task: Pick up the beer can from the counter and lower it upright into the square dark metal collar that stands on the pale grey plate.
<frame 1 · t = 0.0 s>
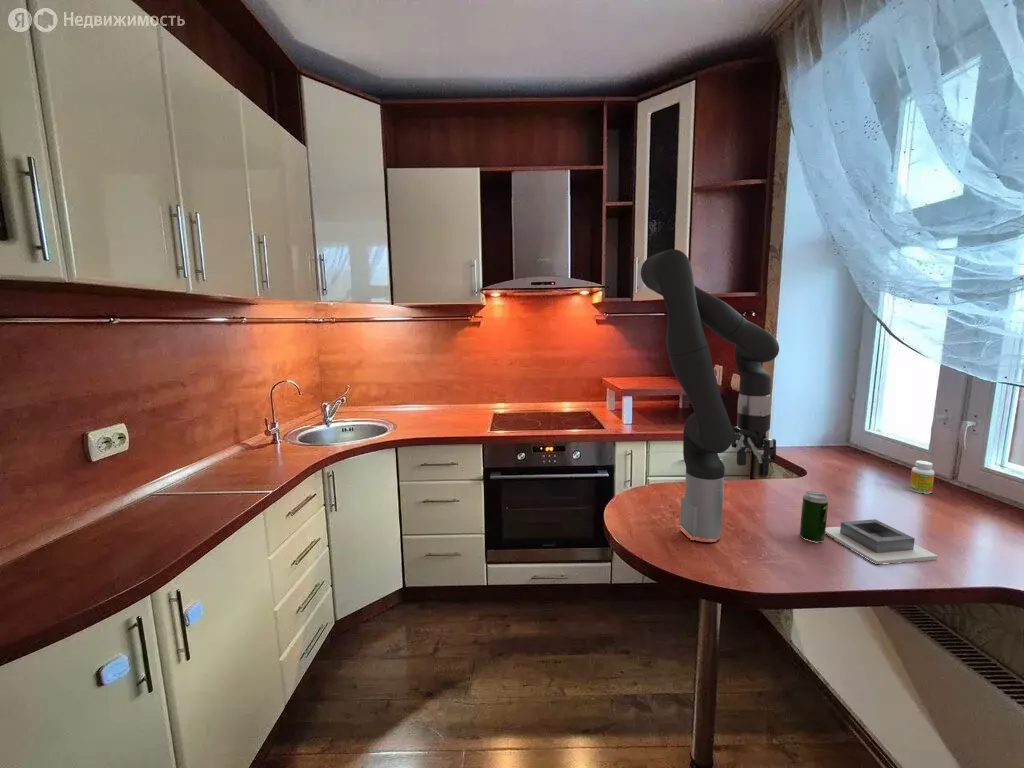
hand: (751, 470, 114), 17 cm above the countertop, tool pointing down, fingers open, 8 cm apart
beer can: (811, 539, 112), on the countertop
supplement bottle: (920, 491, 140), on the countertop
can collar: (875, 535, 108), on the holder plate, point 2 cm above the countertop
holder plate: (874, 544, 108), on the countertop
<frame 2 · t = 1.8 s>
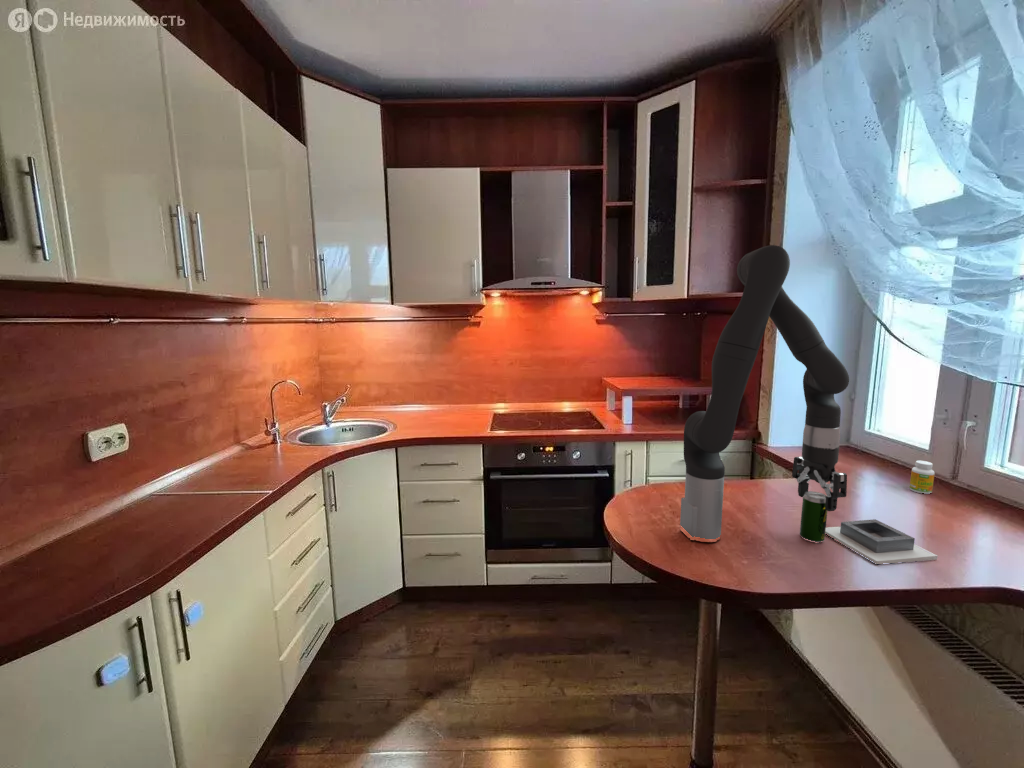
hand: (816, 503, 110), 10 cm above the countertop, tool pointing down, fingers open, 8 cm apart
nothing on the countertop moved.
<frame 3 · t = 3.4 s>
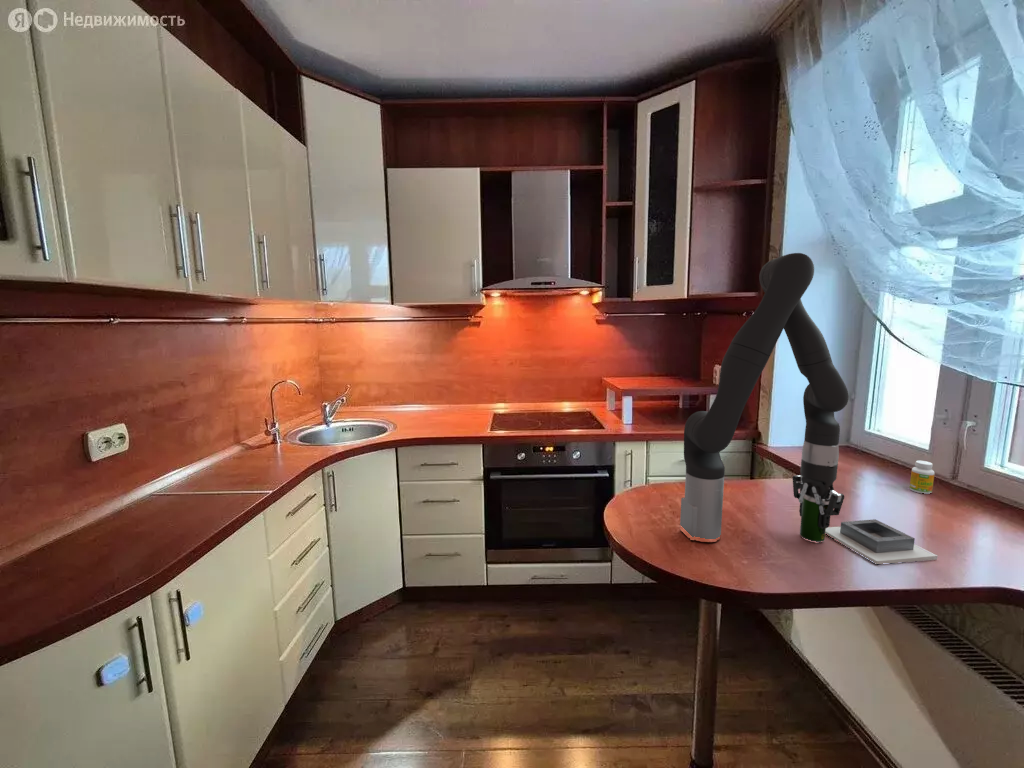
hand: (813, 521, 111), 5 cm above the countertop, tool pointing down, fingers closed on beer can, 5 cm apart
beer can: (811, 539, 112), on the countertop, touching gripper
everything else where it was.
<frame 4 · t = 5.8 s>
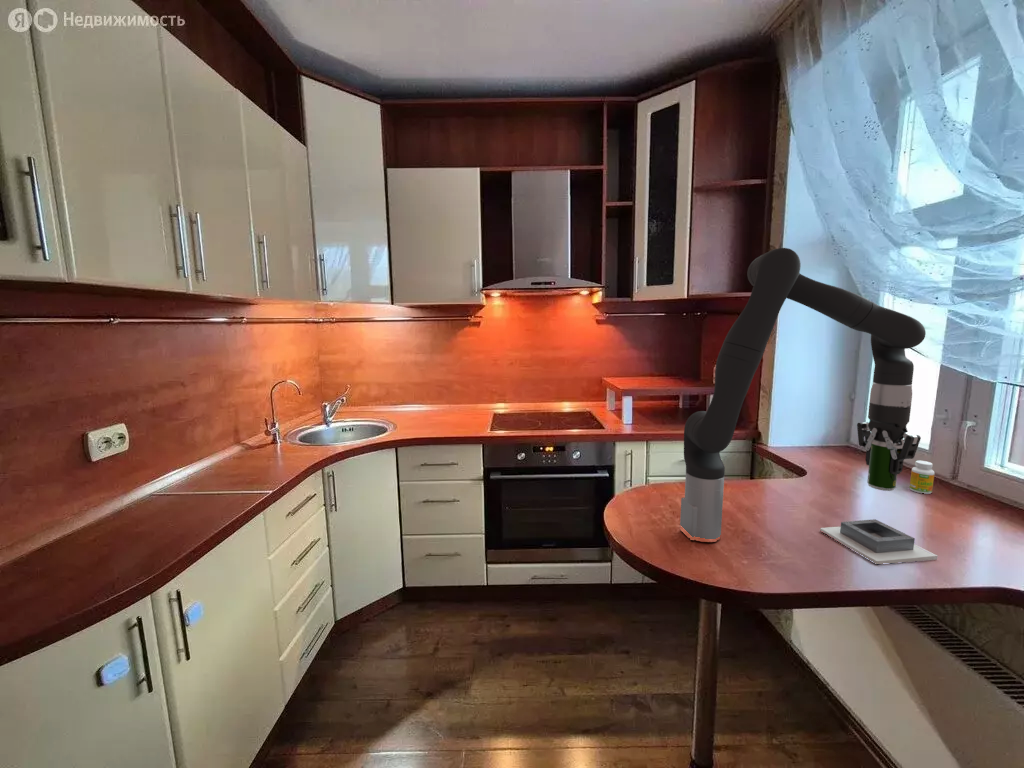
hand: (882, 469, 105), 20 cm above the countertop, tool pointing down, fingers closed on beer can, 5 cm apart
beer can: (880, 487, 106), point 15 cm above the countertop, touching gripper
everything else where it was.
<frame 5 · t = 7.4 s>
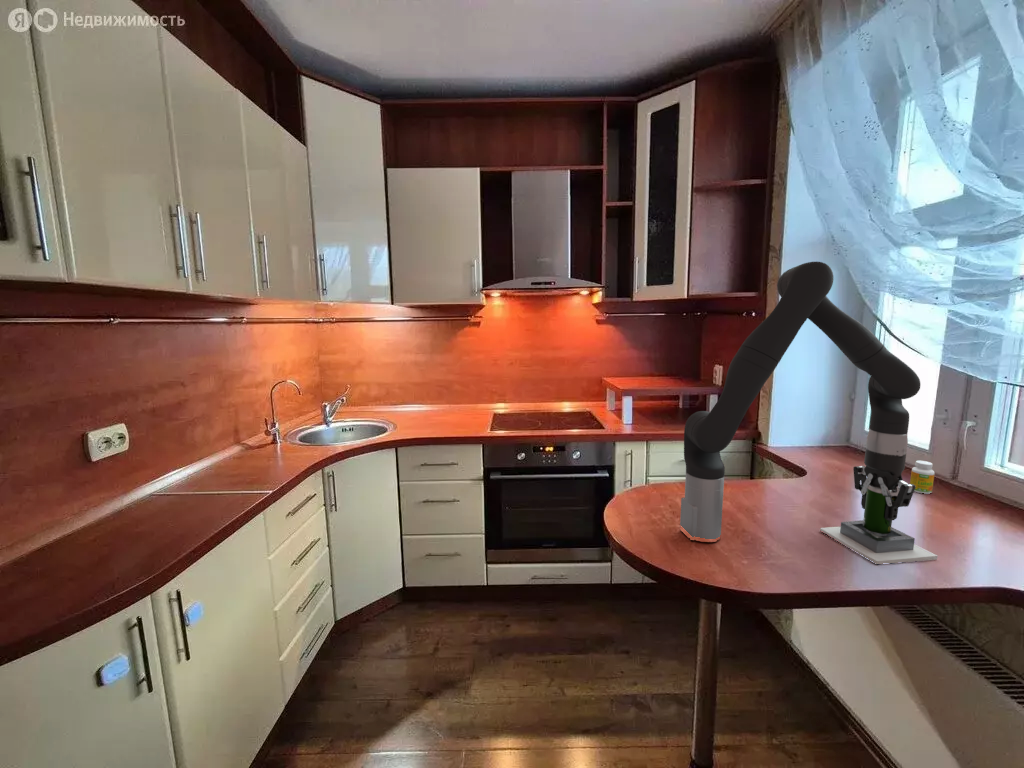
hand: (878, 513, 107), 8 cm above the countertop, tool pointing down, fingers closed on beer can, 5 cm apart
beer can: (876, 532, 108), point 3 cm above the countertop, touching gripper
everything else where it was.
when the fingers open (7 cm above the countertop, at t = 8.5 s): beer can drops 1 cm, resting on holder plate.
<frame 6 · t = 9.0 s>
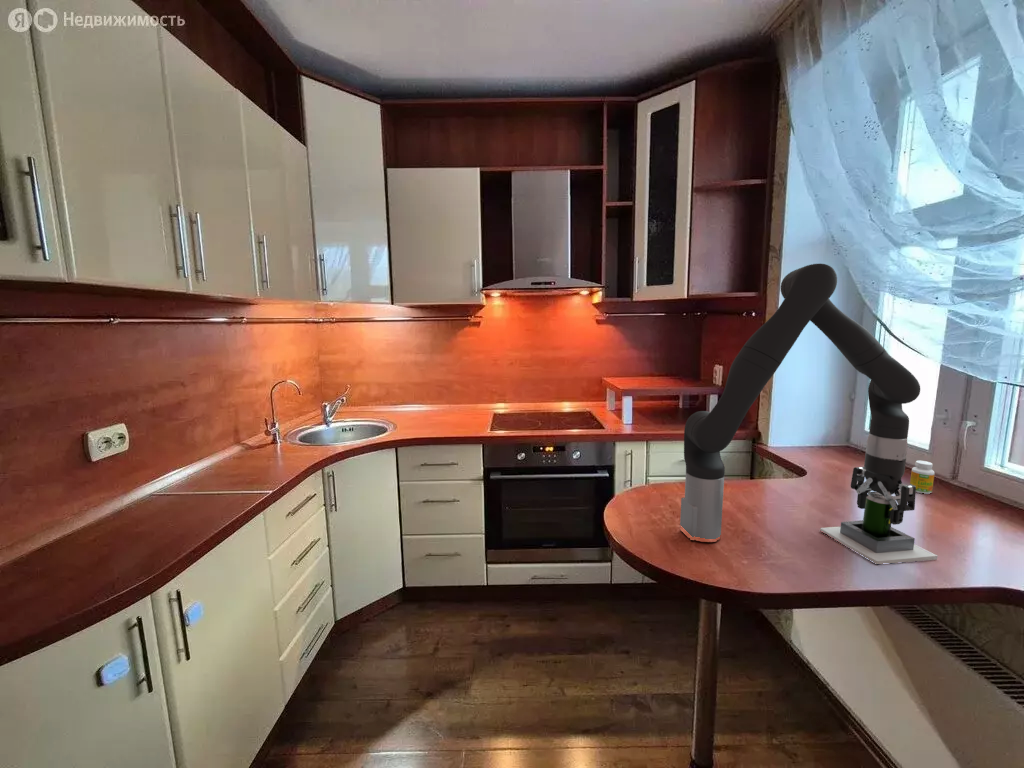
hand: (878, 515, 107), 8 cm above the countertop, tool pointing down, fingers open, 8 cm apart
beer can: (874, 541, 108), point 1 cm above the countertop, touching holder plate
everything else where it was.
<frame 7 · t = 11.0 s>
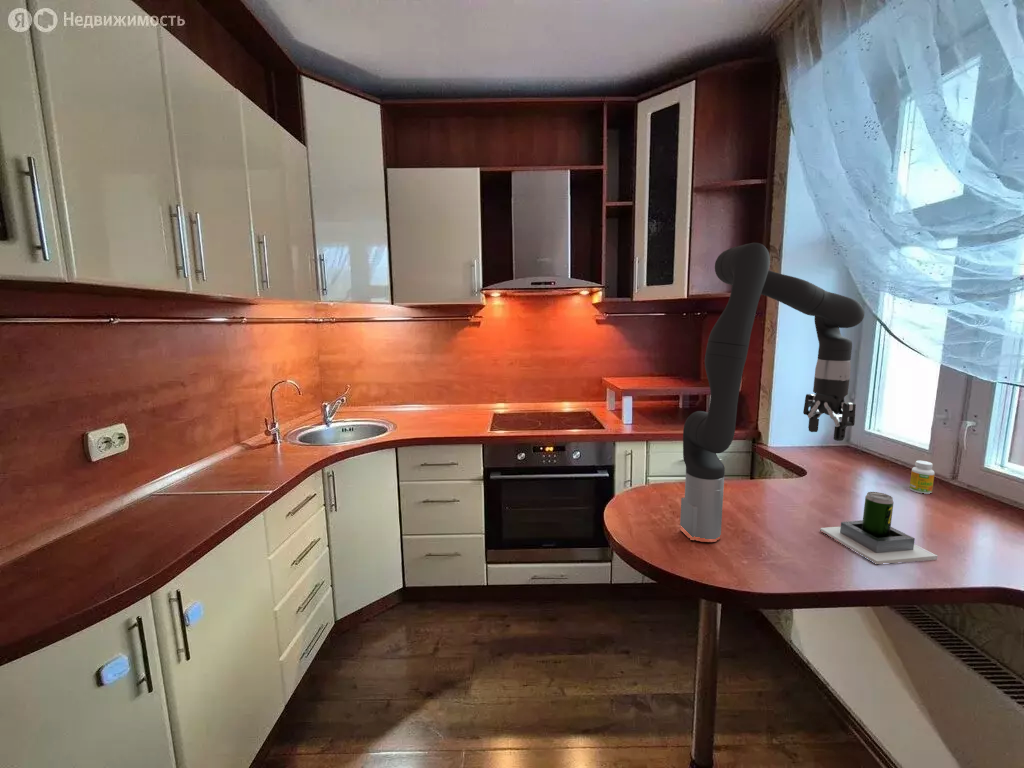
hand: (825, 435, 116), 25 cm above the countertop, tool pointing down, fingers open, 8 cm apart
nothing on the countertop moved.
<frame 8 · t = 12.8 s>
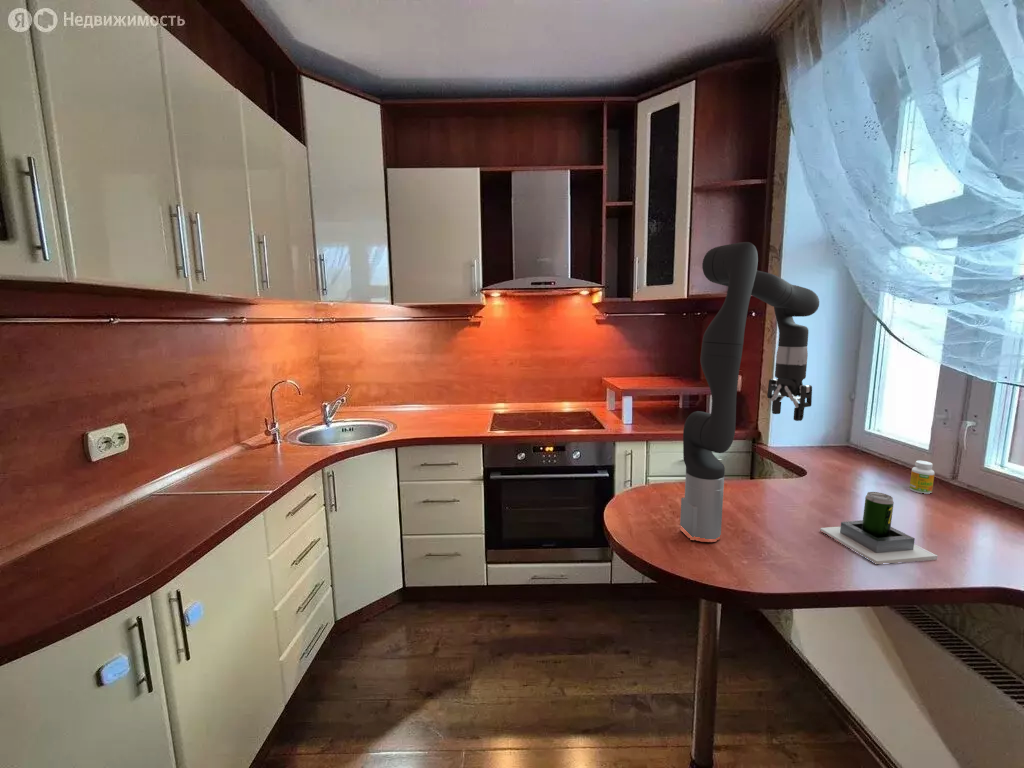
hand: (786, 417, 126), 28 cm above the countertop, tool pointing down, fingers open, 8 cm apart
nothing on the countertop moved.
at the end: beer can 0.1 cm off-centre on the can collar, point 0.8 cm above the can collar's base; beer can tilted 0°; the gripper is holding nothing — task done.
